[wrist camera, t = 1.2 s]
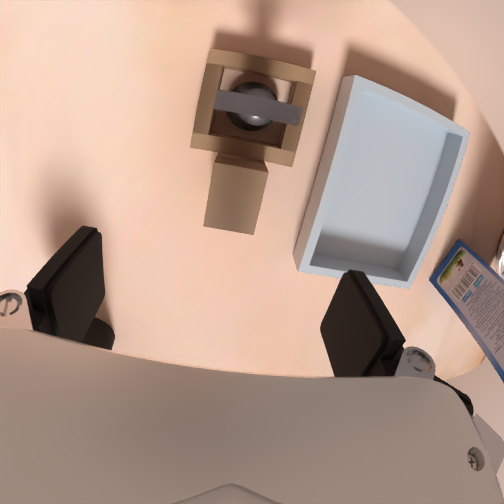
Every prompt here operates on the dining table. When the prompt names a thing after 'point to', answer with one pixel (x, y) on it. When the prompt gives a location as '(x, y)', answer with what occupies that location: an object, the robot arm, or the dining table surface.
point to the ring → (244, 141)
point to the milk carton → (474, 299)
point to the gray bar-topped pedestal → (255, 107)
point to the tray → (379, 186)
